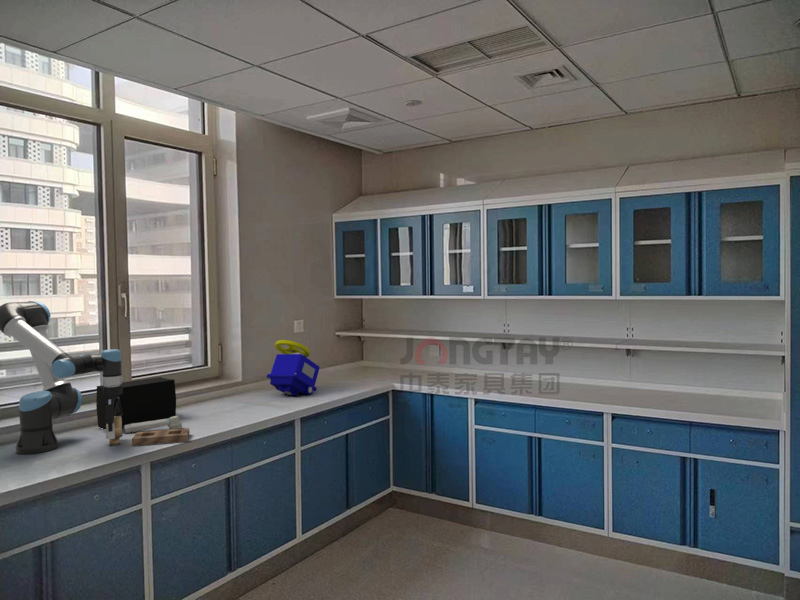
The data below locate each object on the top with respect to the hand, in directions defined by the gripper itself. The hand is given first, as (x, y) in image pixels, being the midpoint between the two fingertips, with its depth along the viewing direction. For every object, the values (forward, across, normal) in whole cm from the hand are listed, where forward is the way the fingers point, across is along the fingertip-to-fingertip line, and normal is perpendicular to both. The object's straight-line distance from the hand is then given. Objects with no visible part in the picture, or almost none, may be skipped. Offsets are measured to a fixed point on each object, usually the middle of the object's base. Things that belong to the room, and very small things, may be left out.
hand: (114, 434), depth 254 cm
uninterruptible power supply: (+4, +37, -2) cm, 38 cm away
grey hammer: (+4, +19, -13) cm, 23 cm away
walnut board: (+4, 0, -19) cm, 19 cm away
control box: (+4, +90, -82) cm, 122 cm away
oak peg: (+4, 0, 0) cm, 4 cm away
